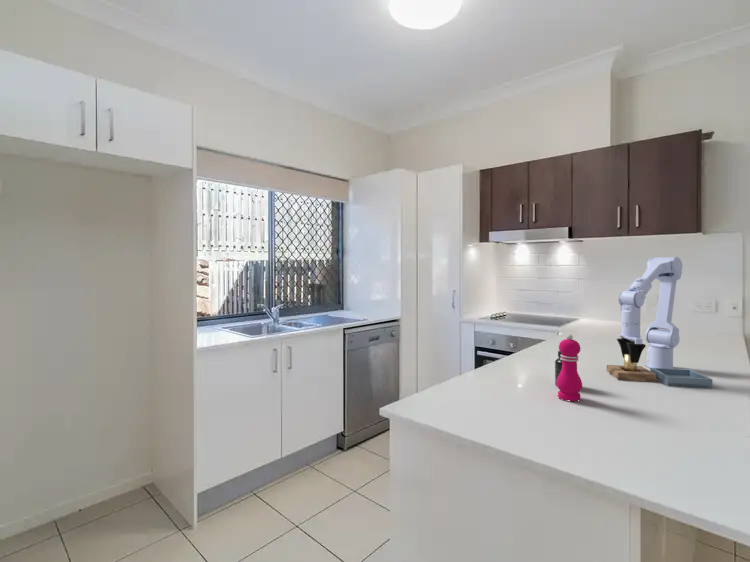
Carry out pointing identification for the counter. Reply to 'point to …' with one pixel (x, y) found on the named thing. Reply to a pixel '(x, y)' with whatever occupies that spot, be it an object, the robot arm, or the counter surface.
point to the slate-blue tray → (681, 378)
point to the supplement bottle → (558, 366)
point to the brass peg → (629, 364)
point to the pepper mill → (569, 370)
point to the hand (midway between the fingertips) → (630, 360)
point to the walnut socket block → (631, 373)
